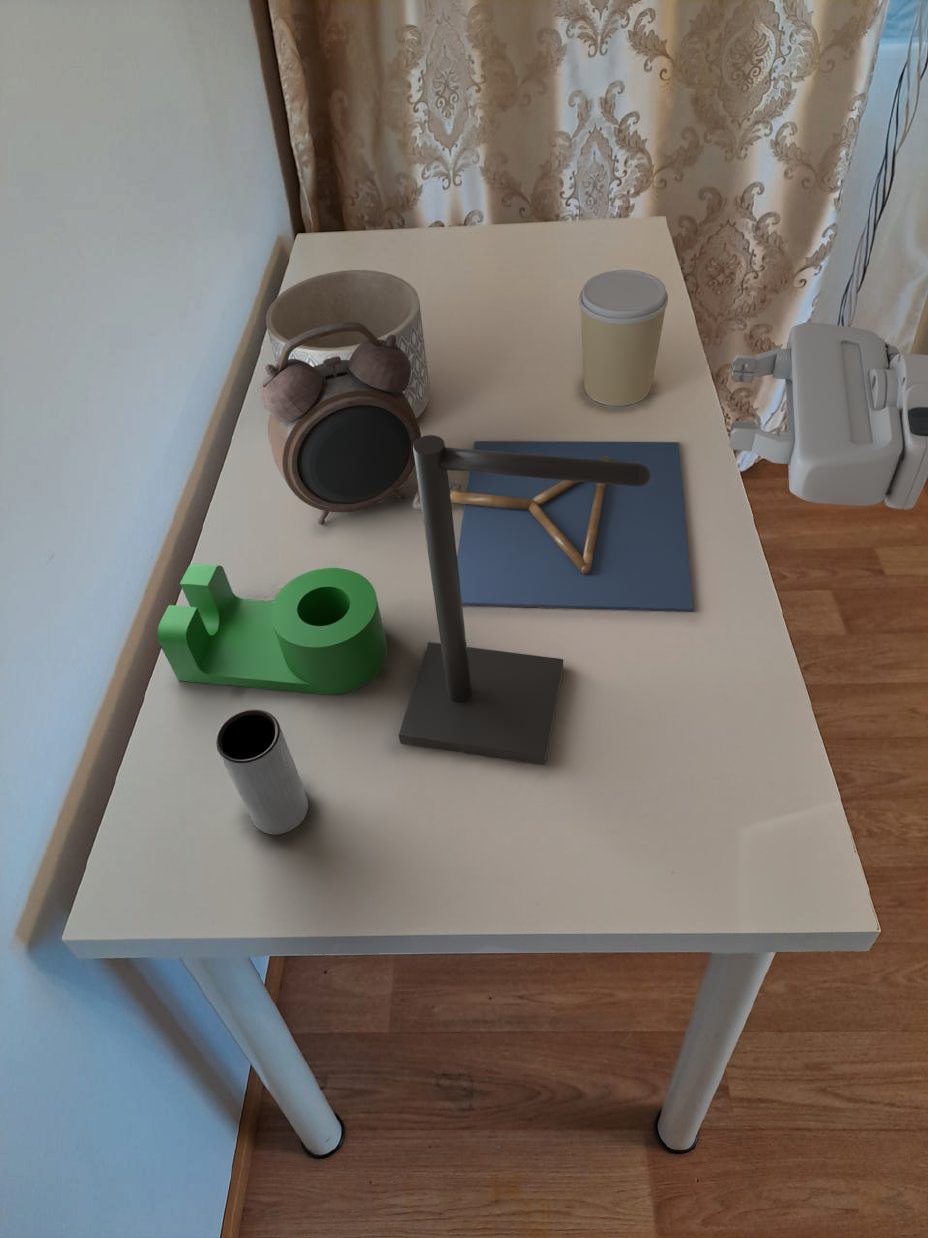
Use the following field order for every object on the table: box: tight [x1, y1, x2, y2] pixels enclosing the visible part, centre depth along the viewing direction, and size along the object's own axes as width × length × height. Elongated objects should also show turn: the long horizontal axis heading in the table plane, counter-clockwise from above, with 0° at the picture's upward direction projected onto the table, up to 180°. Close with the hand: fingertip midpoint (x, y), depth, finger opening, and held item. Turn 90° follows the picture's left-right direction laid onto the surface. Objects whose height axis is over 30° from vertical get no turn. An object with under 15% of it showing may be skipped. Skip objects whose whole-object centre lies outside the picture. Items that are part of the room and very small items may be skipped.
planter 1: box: [215, 709, 309, 835], centre depth 67 cm, size 4×4×10 cm
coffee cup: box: [578, 269, 669, 407], centre depth 100 cm, size 9×9×12 cm
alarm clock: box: [260, 322, 422, 526], centre depth 87 cm, size 14×7×20 cm, turn 112°
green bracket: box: [157, 563, 388, 696], centre depth 79 cm, size 18×9×6 cm, turn 80°
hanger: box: [412, 456, 610, 574], centre depth 91 cm, size 1×17×19 cm
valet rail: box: [398, 434, 650, 765], centre depth 65 cm, size 18×10×27 cm, turn 77°
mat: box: [457, 440, 694, 612], centre depth 90 cm, size 22×24×1 cm
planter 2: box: [265, 269, 431, 419], centre depth 101 cm, size 16×16×13 cm
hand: (731, 400), depth 75 cm, fingers open, 8 cm apart
